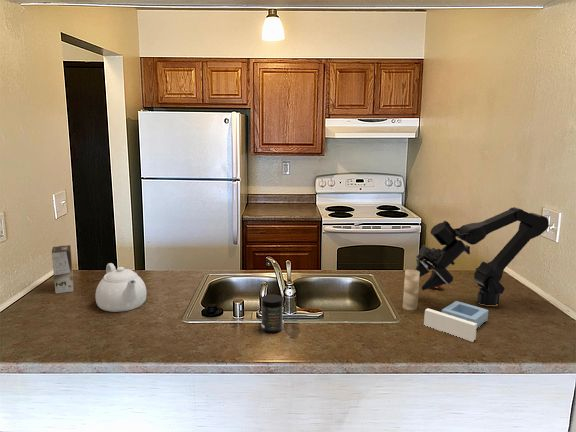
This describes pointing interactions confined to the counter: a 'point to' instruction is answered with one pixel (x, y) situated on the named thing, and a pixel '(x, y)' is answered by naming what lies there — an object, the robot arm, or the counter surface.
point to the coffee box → (62, 269)
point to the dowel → (411, 289)
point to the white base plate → (450, 324)
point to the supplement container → (272, 313)
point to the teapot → (120, 290)
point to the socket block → (467, 312)
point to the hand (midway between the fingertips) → (416, 284)
